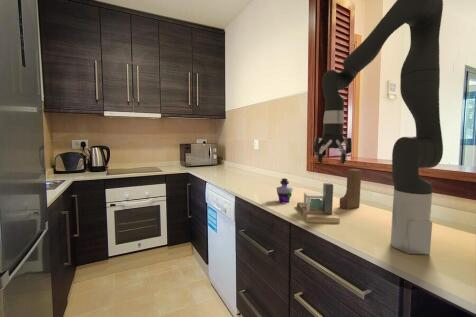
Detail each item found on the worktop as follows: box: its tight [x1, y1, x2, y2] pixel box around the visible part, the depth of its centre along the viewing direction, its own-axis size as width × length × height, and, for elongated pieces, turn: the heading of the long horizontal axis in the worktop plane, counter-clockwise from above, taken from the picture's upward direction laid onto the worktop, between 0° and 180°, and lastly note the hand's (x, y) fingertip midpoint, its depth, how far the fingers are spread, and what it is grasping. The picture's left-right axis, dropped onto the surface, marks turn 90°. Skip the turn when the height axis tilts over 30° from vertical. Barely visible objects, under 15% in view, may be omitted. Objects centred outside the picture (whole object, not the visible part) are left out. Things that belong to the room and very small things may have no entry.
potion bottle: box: [276, 178, 293, 204], centre depth 127 cm, size 9×9×12 cm
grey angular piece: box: [310, 183, 334, 214], centre depth 104 cm, size 11×8×12 cm
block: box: [310, 198, 322, 207], centre depth 107 cm, size 4×4×4 cm
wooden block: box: [339, 168, 362, 210], centre depth 117 cm, size 9×4×18 cm, turn 118°
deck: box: [296, 201, 341, 224], centre depth 106 cm, size 22×12×2 cm, turn 177°
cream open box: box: [303, 191, 323, 211], centre depth 107 cm, size 7×9×6 cm
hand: (331, 163), depth 99 cm, fingers open, 8 cm apart
